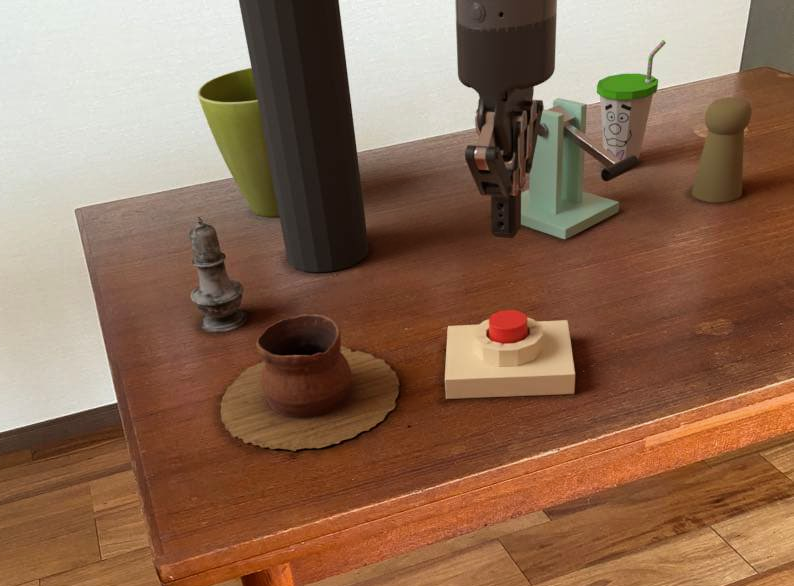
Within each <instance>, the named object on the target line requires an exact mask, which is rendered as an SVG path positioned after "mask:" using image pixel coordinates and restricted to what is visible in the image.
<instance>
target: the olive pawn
mask: <svg viewBox="0 0 794 586" xmlns="http://www.w3.org/2000/svg"><path fill="white" fill-rule="evenodd" d="M752 114H753V111H752V106H751V104H750V102H749V101H748V100H746V99H744V98H742V97H733V96H731V97H729V96H727V97H722V98H718V99H715V100H713V101H712V102H711V103H710V104H709V106H708V107H707V109H706V112H705V117H704V121H705V122H704V123H705V126H706V128H707V133H706V138H705V141H704V145H703V148H702V153H701V156H700V160H699V164H698V167H697V171H696V175H695V178H694V182H693V186H692V189H691V195H692V197H694V198H695V199H697V200H700V201H702V202H707V203H727V202H732V201H735V200H737V199H739V198H740V197H742V195H743V176H744V175H743V173H744V147H745V145H744V143H745V130H746V128H748V126H749V124H750V122H751V120H752Z"/></svg>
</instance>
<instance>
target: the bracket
mask: <svg viewBox="0 0 794 586" xmlns="http://www.w3.org/2000/svg"><path fill="white" fill-rule="evenodd" d="M557 105H560V106H561V107H562V108H564V109H565V110H566V111H568V112H569V113H571V114H572V115H573V116H575V120H574V123H573V126H574V127H575V128H577V129H578V130H580V131H581V132H582V133H584V134H585V135H586V132H587V131H586V130H587V129H586V128H587V112H588V111H587V110H588V109H587V108H588V104H587V103H584V102H580V101H575V100H570V99H565V98H561V97H557V98H555V99H553V100H552V108H553V107H555V106H557ZM563 130H564V114H562V113H558V112H553V111H549V110H548V109H545V108H544V109H543V112H542V117H541V122H540V127H539V132H538V137H537V142H536V147H535V152H534V157H533V162H532V169H531V171H530V173H529V183H528V185H529V186H528V189H526V190H523V191H521V226H524V227H527V228H530V229H532V230H535V231H538V232H541V233H544V234H547V235H551V236H554V237H556V238H559V239H562V240H565V241H566V240H568V239H569V238H571V237H573V236H575V235H577V234H579V233H581V232H583V231H585V230H587V229H589V228H590V227H592V226H594V225H596V224H599V223H600V222H602V221H604V220H606V219H608V218H609V217H612V216H614V215H615V214H617V213H619V211H620V202H619V201H617V200H614V199H611V198H608V197H604V196H600V195H597V194H594V193H590V192H586V191H584V173H585V171H584V170H585V154H586V151H584V150H583V149H582V148H580V147H579V146H578V145H576V144H575V143H574V142H572V141H571V140H569V139H568V138H567V137H565V138H563Z"/></svg>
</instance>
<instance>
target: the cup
mask: <svg viewBox="0 0 794 586" xmlns="http://www.w3.org/2000/svg"><path fill="white" fill-rule="evenodd" d="M665 44H666V41H665V39H662V40H661V41H660V43H658V44H657V46H656V47H655V48H654V49H653V50H652V51H651V52H650V53H649V55H648V59H647V69H646V73H645V74H644V73H619V74H614V75H609V76H606V77H604V78H602V79H599V80H598V82H597V84H596V94H598V95H599V102H600V103H599V104H600V116H601V117H600V120H601V132H602V133H601V134H602V147H603V148H604V149H606V150H607V151H608V152H610V153H611V154H612V155H614V156H615V157H617V158H618V159H619V160H623V159H625V158H627V157H629V156H631V155H634V156H636V157H637V158H638V161H639V160H640V155H641V151H642V147H643V142H644V138H645V133H646V128H647V124H648V118H649V115H650V110H651V106H652V101H653V97H654V94H656V93H657V91H658V87H659V79H658V78H656V77H654V76H653V75H652V73H653V71H652V70H653V60H654V58H655V55H656V54H657V53H658V52H659V51H660V50H661V49H662V48H663V47H664V46H665Z"/></svg>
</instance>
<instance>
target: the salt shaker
mask: <svg viewBox="0 0 794 586" xmlns="http://www.w3.org/2000/svg"><path fill="white" fill-rule="evenodd" d="M195 222H196V223H197V224H195V225H194V226H193V227H192V228H191V229H190V231H189V233H188V236H189V241H190V246H191V249H192V253H193V258H192V260H191V263H192V265H193V266H195V267H196V271H197V275H198V279H199V285H198V286H197V287H195V288H194V289H193V290H192V291H191V293H190V299H191V301H192V302H193V303H194V304H195V307H196V308H197V309H198V310H199V312H200V313H201V314H202V315H204V317H202V319H201V322H200V326H201V329H203V330H204V331H206V332H208V333H214V334H215V333H216V334H217V333H218V334H219V333H227V332H231V331H234V330H236V329H239V328H240V327H242V326H243V325H244V324H245V323H246V322H247V321H248V315H247V312H245V311H244V310H243V309H240V307H241V305H242V300H243V292H244V286H243V284H242V283H241V282H240V281H238V280H236V279H230V277H229V275H228V273H227V268H226V263H225V260H226V257H227V256H226V254H225V253H224V252H222V251H221V246H220V242H219V238H218V234H217V230H216V228H215V227H214V226H213V225H211V224H208V223H204V222H203V219H202V218H201V217H200V216H197V218H196V220H195Z"/></svg>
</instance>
